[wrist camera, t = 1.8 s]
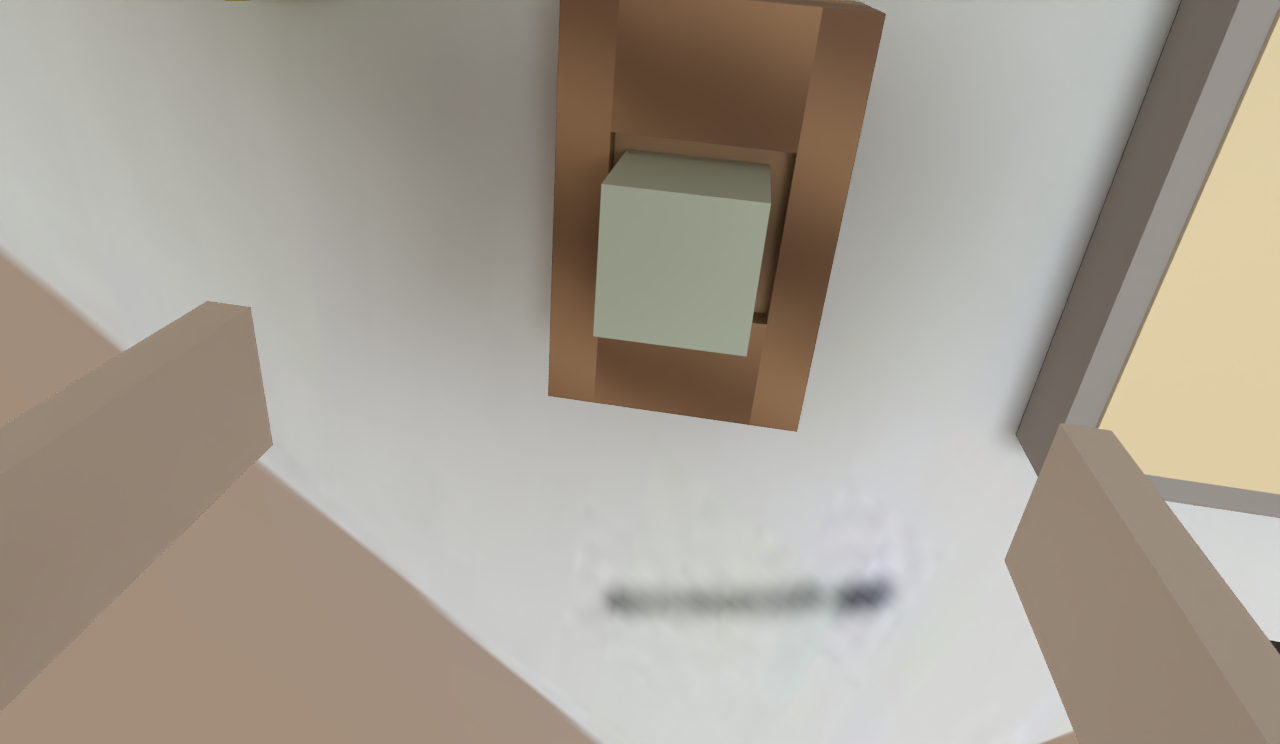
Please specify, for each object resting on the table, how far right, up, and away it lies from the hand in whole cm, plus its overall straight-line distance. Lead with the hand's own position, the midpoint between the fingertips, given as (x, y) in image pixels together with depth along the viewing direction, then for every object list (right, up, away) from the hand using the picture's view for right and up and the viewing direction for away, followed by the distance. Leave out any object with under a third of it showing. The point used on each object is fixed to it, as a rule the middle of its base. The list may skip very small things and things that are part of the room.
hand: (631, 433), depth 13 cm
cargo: (+2, +5, +10) cm, 11 cm away
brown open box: (+2, +8, +14) cm, 16 cm away
